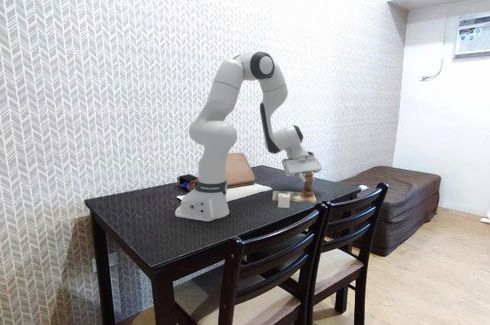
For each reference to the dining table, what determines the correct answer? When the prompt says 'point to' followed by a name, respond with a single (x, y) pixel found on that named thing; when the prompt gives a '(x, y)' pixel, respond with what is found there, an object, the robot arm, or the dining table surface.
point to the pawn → (308, 184)
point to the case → (238, 171)
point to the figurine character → (186, 181)
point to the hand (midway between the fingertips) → (309, 181)
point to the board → (296, 196)
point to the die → (283, 200)
